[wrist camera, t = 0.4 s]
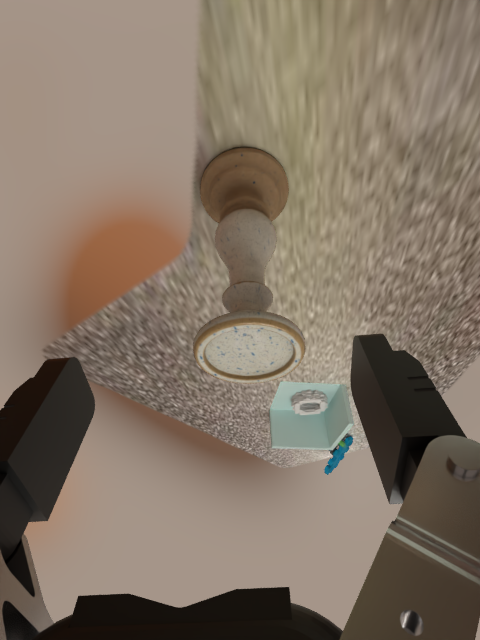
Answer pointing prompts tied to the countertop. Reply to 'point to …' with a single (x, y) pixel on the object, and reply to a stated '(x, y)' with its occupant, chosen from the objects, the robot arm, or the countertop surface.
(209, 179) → the candle holder
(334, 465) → the teal irregular piece
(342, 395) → the right angle wall
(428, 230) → the countertop surface
